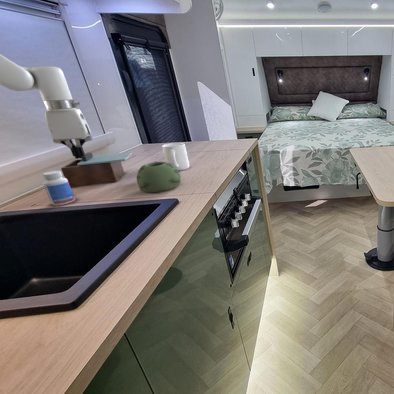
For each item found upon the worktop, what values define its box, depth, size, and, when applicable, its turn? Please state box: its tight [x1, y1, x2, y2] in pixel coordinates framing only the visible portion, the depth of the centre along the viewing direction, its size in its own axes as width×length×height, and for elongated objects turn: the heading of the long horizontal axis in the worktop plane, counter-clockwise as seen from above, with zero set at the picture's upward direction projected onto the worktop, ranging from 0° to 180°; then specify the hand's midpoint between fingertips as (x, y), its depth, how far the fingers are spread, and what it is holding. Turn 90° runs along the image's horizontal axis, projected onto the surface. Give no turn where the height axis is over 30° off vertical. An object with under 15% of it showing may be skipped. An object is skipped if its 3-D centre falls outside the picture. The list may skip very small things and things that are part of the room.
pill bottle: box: [42, 170, 76, 206], centre depth 89 cm, size 6×5×10 cm
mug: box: [161, 142, 191, 172], centre depth 120 cm, size 12×8×10 cm
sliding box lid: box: [77, 151, 133, 165], centre depth 109 cm, size 14×13×2 cm
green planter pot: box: [136, 160, 182, 193], centre depth 102 cm, size 16×13×9 cm
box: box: [60, 158, 125, 189], centre depth 110 cm, size 14×13×7 cm
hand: (80, 157), depth 106 cm, fingers closed
